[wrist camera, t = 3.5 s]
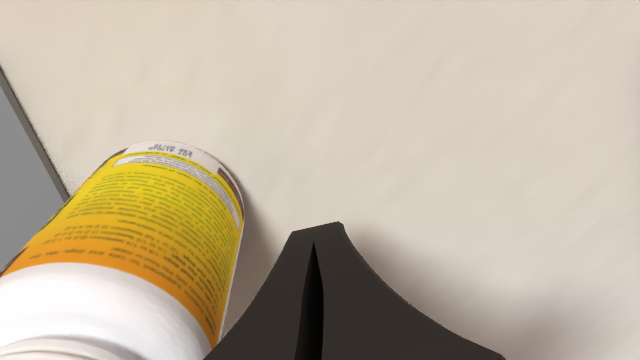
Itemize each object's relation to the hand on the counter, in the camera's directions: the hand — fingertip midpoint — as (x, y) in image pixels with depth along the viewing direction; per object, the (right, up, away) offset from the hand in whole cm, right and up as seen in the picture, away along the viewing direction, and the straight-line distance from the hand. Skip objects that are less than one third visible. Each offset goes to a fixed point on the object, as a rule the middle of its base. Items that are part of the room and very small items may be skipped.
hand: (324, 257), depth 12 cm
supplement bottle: (-6, +1, +5) cm, 8 cm away
